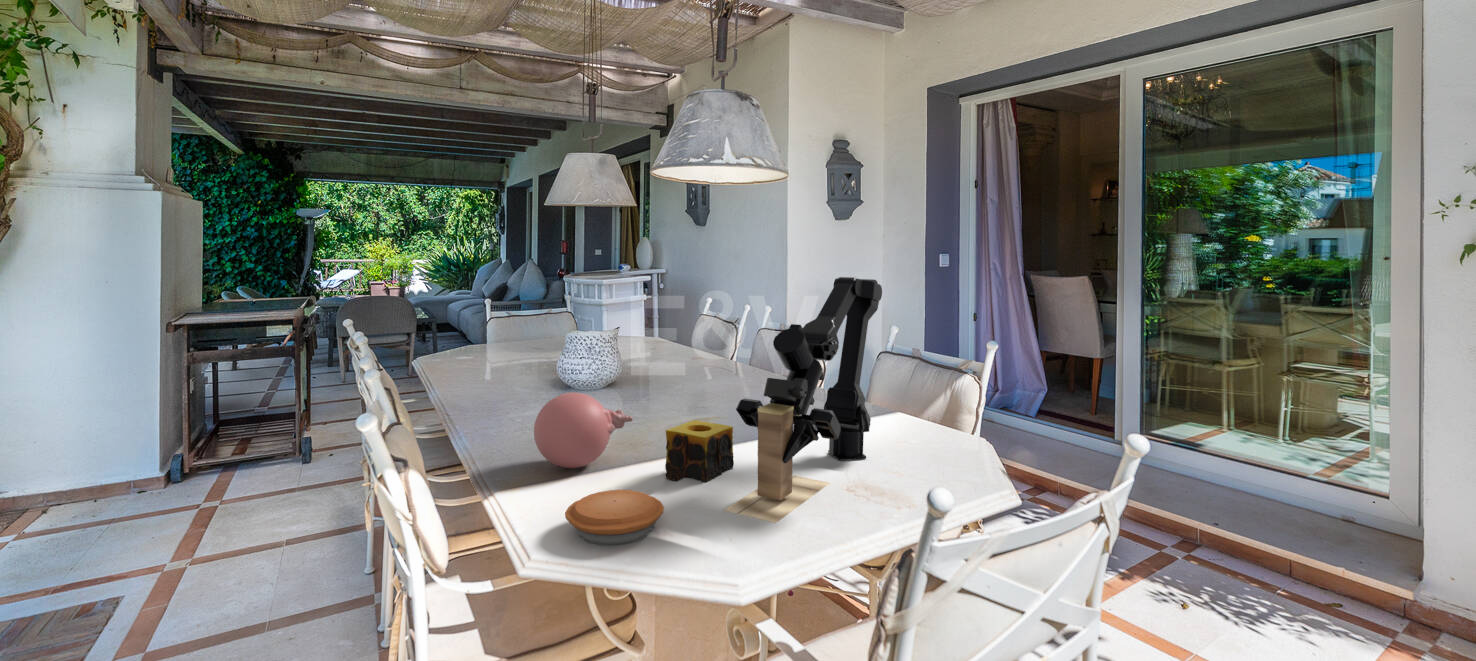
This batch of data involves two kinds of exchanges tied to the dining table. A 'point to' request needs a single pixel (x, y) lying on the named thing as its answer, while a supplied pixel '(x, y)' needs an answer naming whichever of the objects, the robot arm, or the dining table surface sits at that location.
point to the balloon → (575, 429)
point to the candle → (698, 451)
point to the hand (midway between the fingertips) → (771, 459)
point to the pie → (614, 516)
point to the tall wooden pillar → (774, 450)
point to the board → (777, 501)
